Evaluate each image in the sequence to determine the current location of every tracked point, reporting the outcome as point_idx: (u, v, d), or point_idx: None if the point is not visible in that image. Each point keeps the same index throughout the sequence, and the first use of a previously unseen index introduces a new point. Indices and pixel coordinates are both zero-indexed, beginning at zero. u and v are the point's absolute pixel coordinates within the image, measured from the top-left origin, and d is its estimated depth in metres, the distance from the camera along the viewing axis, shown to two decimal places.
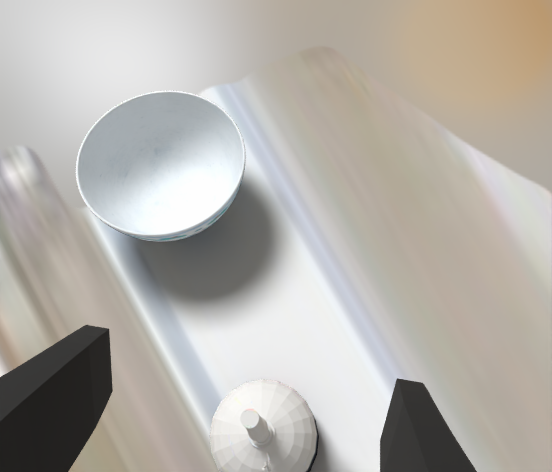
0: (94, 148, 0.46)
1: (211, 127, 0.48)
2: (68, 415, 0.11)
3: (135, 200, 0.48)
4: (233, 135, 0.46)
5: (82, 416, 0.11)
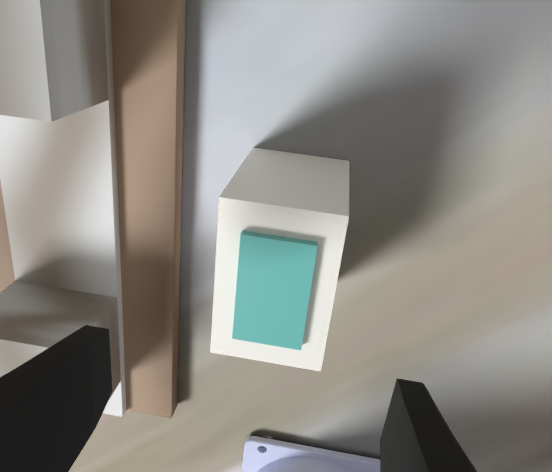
0: None
1: None
2: (68, 415, 0.11)
3: None
4: None
5: (82, 416, 0.11)
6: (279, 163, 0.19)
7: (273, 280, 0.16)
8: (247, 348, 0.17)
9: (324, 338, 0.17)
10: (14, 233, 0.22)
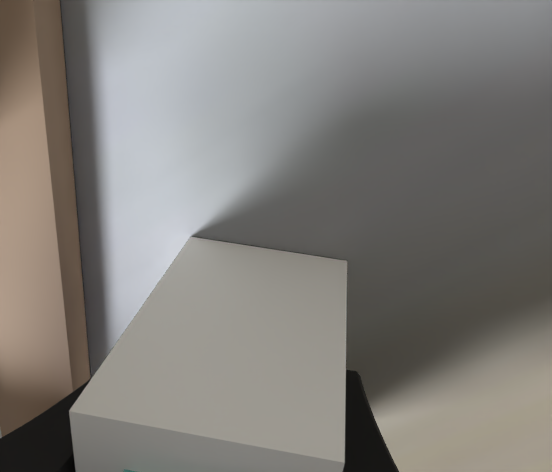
0: None
1: None
2: None
3: None
4: None
5: None
6: (225, 279, 0.11)
7: None
8: None
9: None
10: None
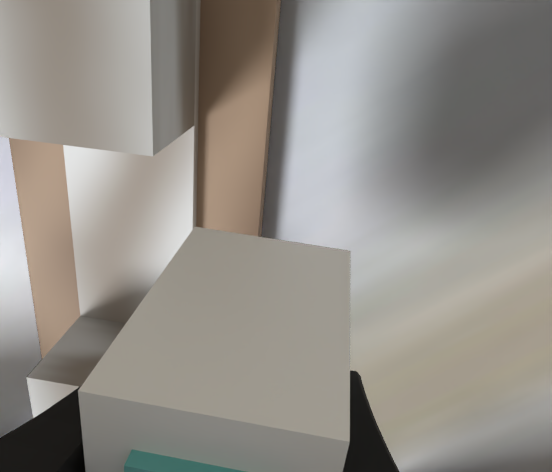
0: None
1: None
2: None
3: None
4: None
5: None
6: (230, 267, 0.11)
7: None
8: None
9: None
10: (82, 267, 0.20)
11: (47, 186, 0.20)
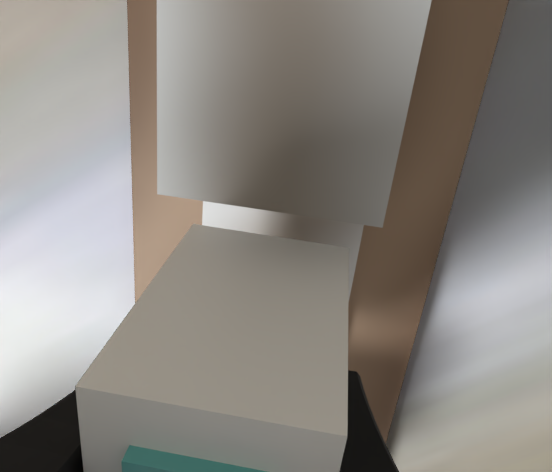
0: None
1: None
2: None
3: None
4: None
5: None
6: (228, 264, 0.11)
7: None
8: None
9: None
10: None
11: (172, 234, 0.16)
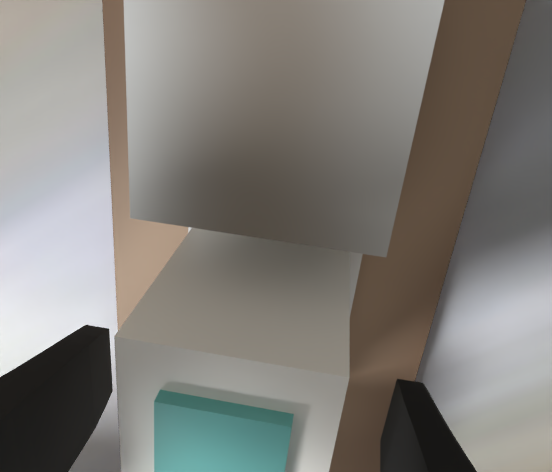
0: None
1: None
2: (68, 415, 0.11)
3: None
4: None
5: (82, 416, 0.11)
6: (241, 240, 0.12)
7: None
8: None
9: None
10: None
11: (156, 252, 0.15)
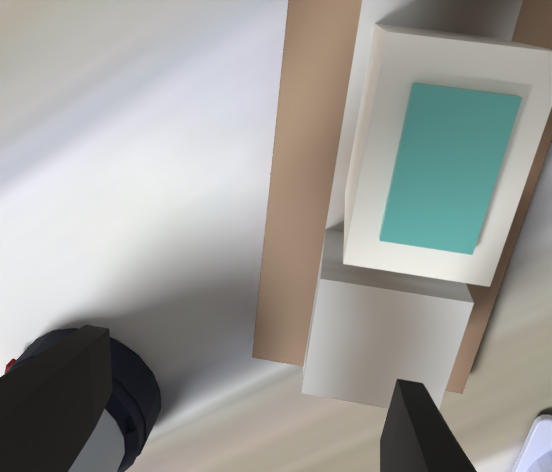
0: None
1: None
2: (68, 415, 0.11)
3: None
4: None
5: (82, 416, 0.11)
6: (421, 30, 0.15)
7: (450, 152, 0.12)
8: (395, 256, 0.13)
9: (503, 239, 0.13)
10: (343, 171, 0.19)
11: (318, 77, 0.18)
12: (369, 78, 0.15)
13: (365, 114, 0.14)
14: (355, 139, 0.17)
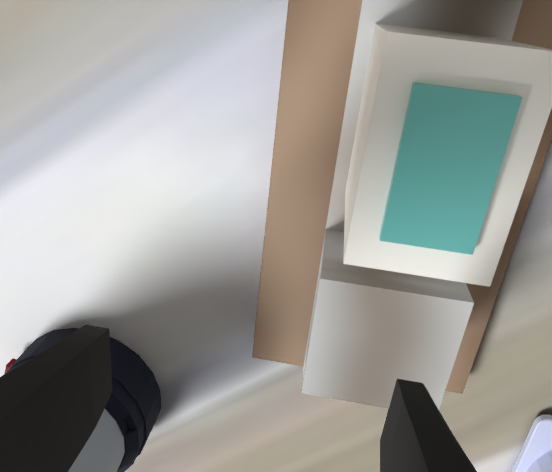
0: None
1: None
2: (68, 415, 0.11)
3: None
4: None
5: (82, 416, 0.11)
6: (421, 30, 0.15)
7: (450, 152, 0.12)
8: (395, 256, 0.13)
9: (503, 239, 0.13)
10: (343, 171, 0.19)
11: (318, 77, 0.18)
12: (369, 78, 0.15)
13: (365, 114, 0.14)
14: (355, 139, 0.17)
